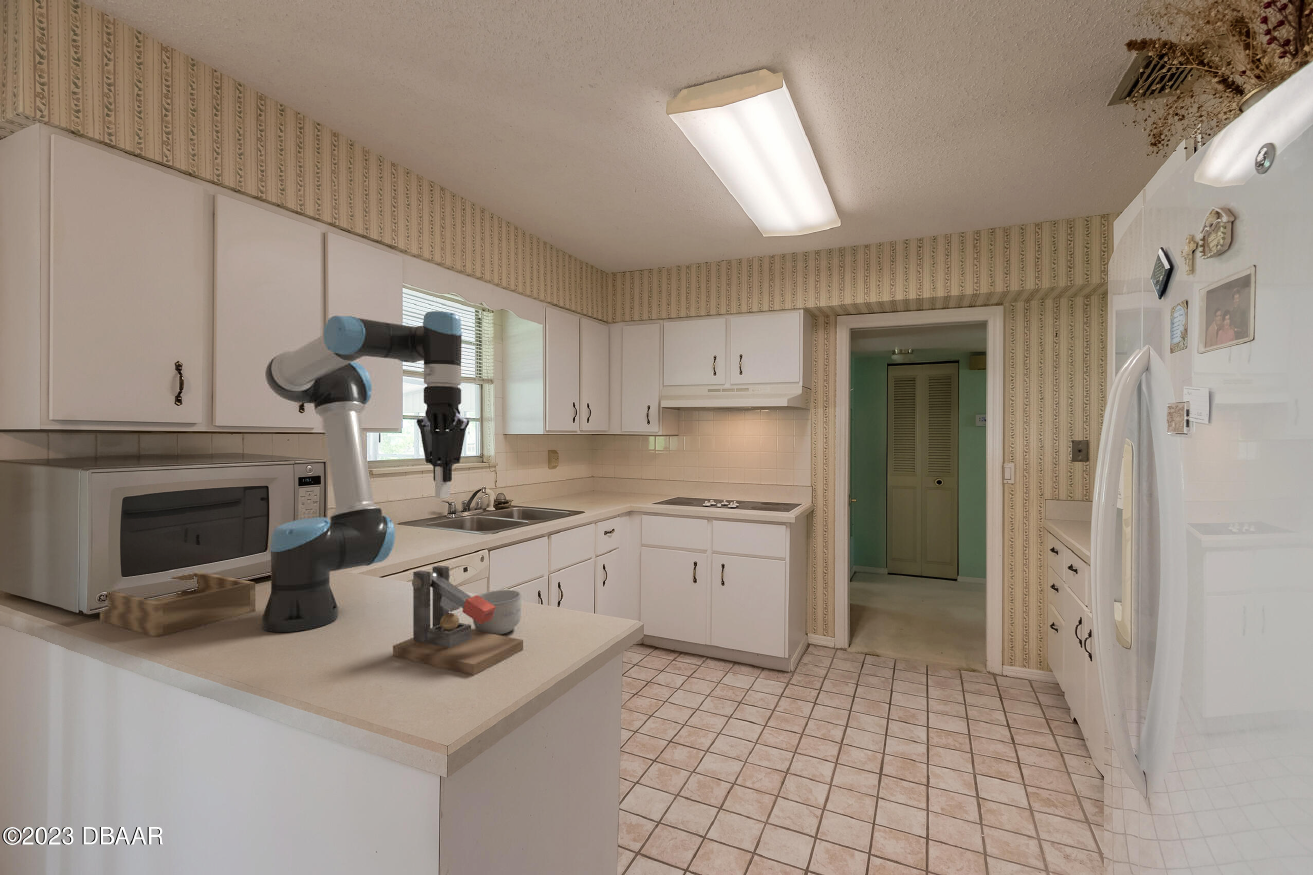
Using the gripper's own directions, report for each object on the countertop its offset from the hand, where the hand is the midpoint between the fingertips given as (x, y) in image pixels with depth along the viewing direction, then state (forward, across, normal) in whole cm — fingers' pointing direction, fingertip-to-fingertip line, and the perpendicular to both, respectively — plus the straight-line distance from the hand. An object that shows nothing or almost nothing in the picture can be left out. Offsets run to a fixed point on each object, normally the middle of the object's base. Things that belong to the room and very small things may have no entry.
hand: (442, 497), depth 126 cm
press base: (+30, +8, -4) cm, 32 cm away
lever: (+22, +7, -4) cm, 23 cm away
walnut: (+25, +6, -4) cm, 26 cm away
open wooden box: (+30, -68, -16) cm, 76 cm away
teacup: (+31, +6, +11) cm, 33 cm away
